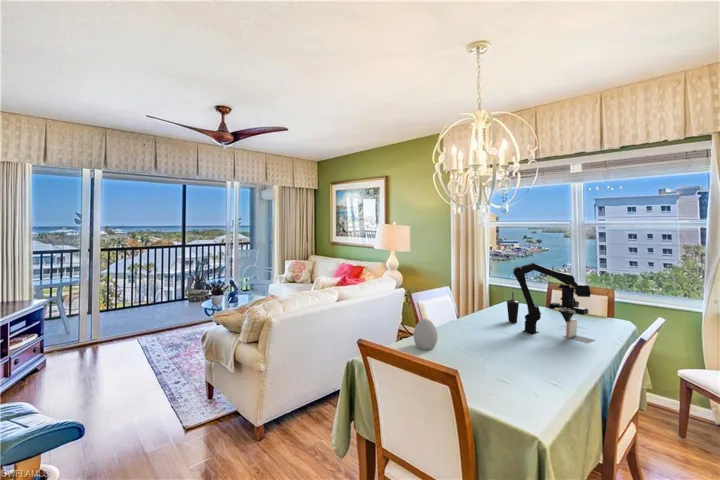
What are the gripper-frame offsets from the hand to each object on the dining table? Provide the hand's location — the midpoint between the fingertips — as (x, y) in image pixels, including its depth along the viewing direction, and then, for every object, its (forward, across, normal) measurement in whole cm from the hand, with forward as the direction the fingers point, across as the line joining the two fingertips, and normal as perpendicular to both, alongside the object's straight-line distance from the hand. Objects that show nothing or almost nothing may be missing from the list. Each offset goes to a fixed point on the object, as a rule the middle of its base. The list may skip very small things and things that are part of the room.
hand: (567, 323), depth 187 cm
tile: (+7, -2, 0) cm, 7 cm away
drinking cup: (+7, +33, +1) cm, 34 cm away
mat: (+7, -6, 0) cm, 9 cm away
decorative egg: (+7, +32, +78) cm, 85 cm away
